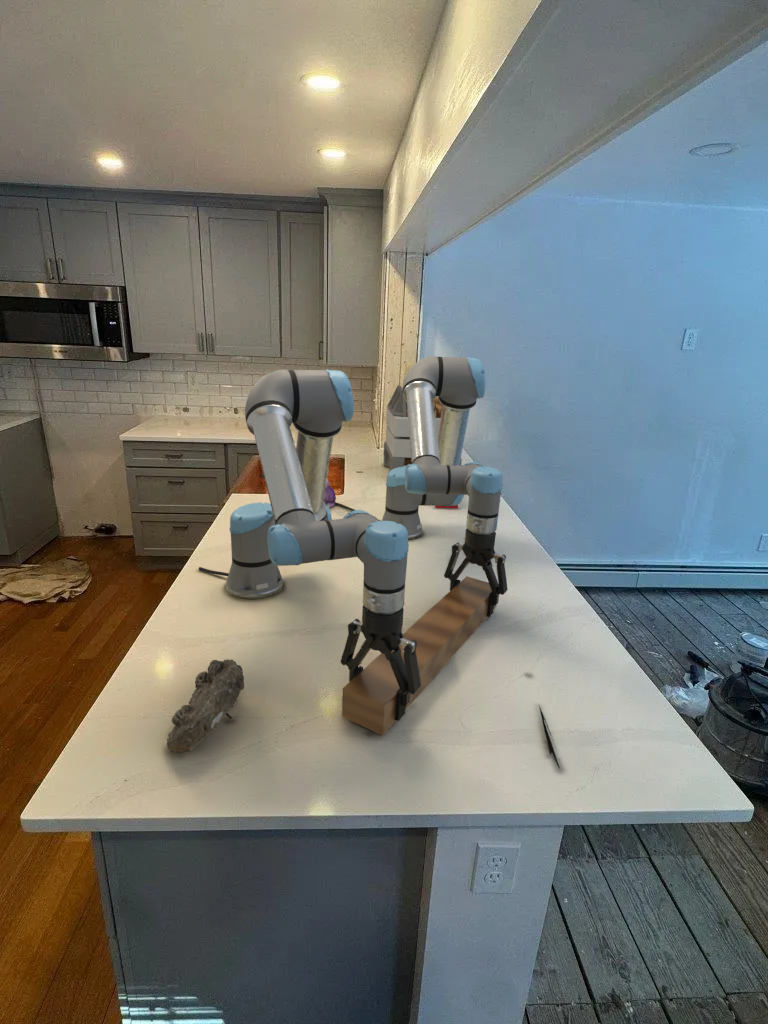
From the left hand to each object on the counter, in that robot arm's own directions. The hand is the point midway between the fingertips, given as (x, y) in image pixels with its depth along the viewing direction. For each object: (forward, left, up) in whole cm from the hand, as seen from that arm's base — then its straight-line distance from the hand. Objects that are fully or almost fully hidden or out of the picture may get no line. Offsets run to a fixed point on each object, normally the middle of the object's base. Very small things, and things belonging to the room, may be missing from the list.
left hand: (378, 706), depth 111 cm
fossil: (-18, -26, -1) cm, 32 cm away
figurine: (-106, +62, -1) cm, 123 cm away
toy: (-87, +109, -1) cm, 139 cm away
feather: (+21, +25, -1) cm, 32 cm away
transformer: (-120, +127, -1) cm, 175 cm away
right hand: (-14, +44, 0) cm, 47 cm away
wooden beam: (-7, +22, -1) cm, 23 cm away
